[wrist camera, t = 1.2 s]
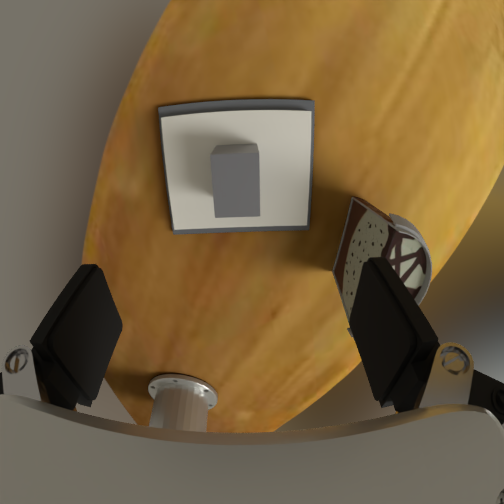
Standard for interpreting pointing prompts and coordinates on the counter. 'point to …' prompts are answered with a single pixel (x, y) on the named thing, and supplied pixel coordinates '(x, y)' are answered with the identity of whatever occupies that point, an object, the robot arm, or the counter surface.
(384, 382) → the robot arm
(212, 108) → the mat
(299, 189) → the lid
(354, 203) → the food container
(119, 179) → the counter surface
